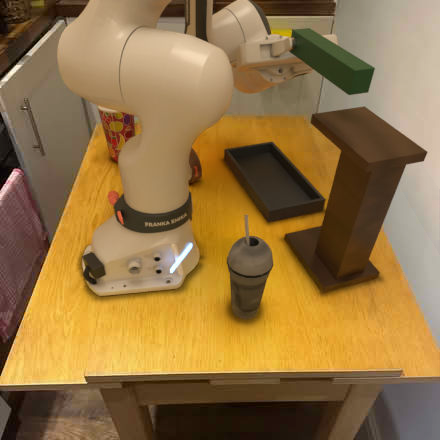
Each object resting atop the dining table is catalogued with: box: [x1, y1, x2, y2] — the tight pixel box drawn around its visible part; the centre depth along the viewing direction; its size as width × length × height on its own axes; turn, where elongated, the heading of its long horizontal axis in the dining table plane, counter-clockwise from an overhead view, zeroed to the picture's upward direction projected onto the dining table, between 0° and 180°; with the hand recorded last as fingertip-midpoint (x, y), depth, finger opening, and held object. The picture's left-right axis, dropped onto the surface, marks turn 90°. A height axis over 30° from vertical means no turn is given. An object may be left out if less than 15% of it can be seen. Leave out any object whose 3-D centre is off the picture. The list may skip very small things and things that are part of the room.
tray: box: [223, 141, 327, 223], centre depth 98 cm, size 14×28×3 cm, turn 20°
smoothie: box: [96, 105, 136, 163], centre depth 98 cm, size 8×8×20 cm
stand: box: [284, 106, 429, 293], centre depth 72 cm, size 12×16×26 cm
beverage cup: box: [226, 214, 274, 320], centre depth 64 cm, size 7×7×20 cm
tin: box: [189, 147, 203, 184], centre depth 98 cm, size 15×3×8 cm, turn 34°
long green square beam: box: [289, 27, 376, 96], centre depth 67 cm, size 4×20×4 cm, turn 20°
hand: (305, 40), depth 71 cm, fingers closed on long green square beam, 3 cm apart
